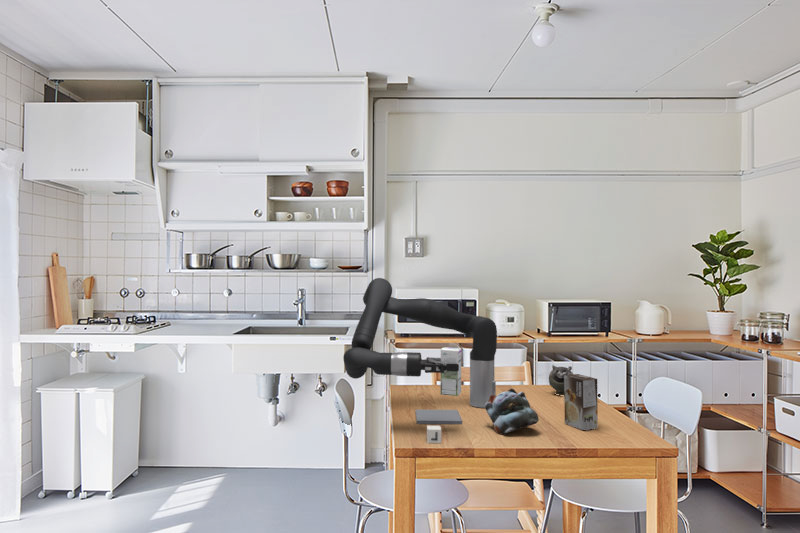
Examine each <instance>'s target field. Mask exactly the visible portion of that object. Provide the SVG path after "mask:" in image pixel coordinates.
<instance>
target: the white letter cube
mask: <svg viewBox="0 0 800 533" xmlns="http://www.w3.org/2000/svg"><path fill="white" fill-rule="evenodd" d="M426 441H427V442H426V443H427V444H442V427H441V425H431V424H426Z"/></svg>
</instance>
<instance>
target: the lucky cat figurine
mask: <svg viewBox="0 0 800 533" xmlns="http://www.w3.org/2000/svg"><path fill="white" fill-rule="evenodd" d="M484 407H485V408H484V409H485V410H486V413H487V415H488V417H489V418H490V420H491V422H492V423H493V426H494V430H495V432H496V433H497V434H500V435H502V436H505V435H506V434H508V433H510V432H513V431H516V430H519V429H522V428H528V427H530V426H533V425H535V424H537V423H538V422H539V420H540V419H539V415H538V413H537V412H536V410H534V409H533V408H531V404H530V402H529V401H528V399H527V396H526V394H525V392H524V391H520V392H518V393H517V391H516V390H515V389H514V388H509V389H508V390H506V391H502V392H500V393H498V394H496V396H494V395H490V398H489V401H488V402H486V404H484Z"/></svg>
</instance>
